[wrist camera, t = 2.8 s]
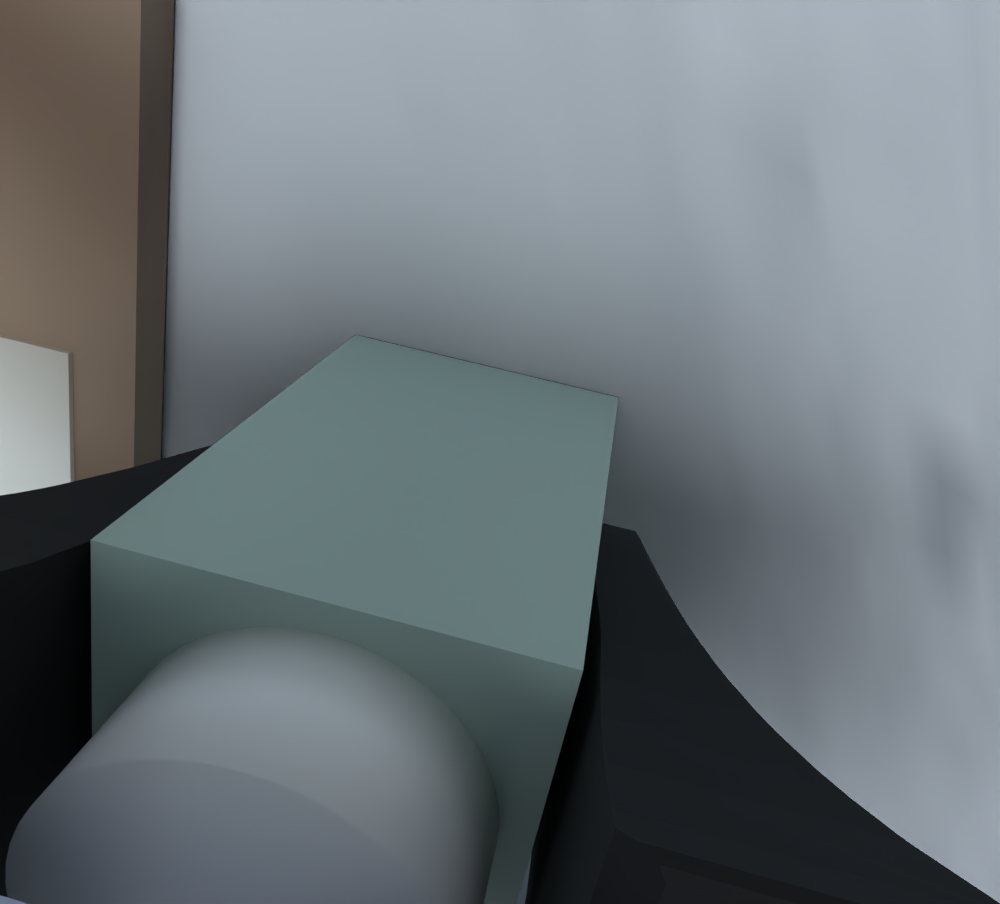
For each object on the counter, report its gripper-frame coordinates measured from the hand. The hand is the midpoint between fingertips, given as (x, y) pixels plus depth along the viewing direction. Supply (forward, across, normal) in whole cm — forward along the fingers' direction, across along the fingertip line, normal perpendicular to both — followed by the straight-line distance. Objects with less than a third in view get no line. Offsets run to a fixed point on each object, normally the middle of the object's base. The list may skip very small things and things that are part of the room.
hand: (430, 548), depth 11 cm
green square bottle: (+2, 0, 0) cm, 2 cm away
